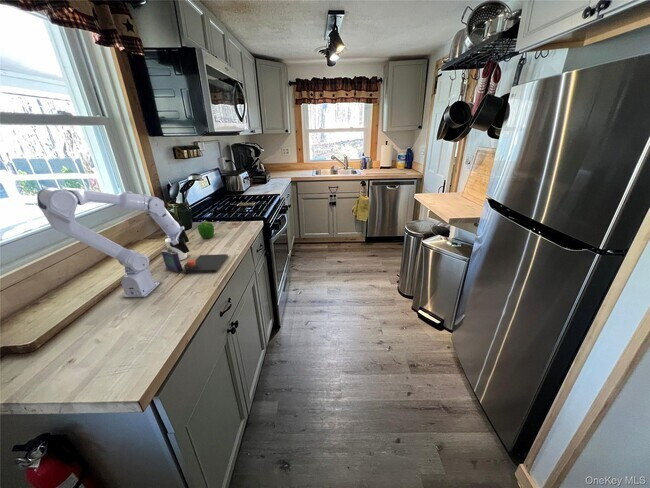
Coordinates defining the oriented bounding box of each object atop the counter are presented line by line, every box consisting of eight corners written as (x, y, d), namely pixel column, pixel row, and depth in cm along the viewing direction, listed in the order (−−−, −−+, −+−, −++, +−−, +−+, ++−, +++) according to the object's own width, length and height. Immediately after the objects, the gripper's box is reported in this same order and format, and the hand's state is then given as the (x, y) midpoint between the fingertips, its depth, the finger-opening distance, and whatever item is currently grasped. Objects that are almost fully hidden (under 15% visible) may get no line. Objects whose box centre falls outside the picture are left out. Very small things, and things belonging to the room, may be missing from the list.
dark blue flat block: (165, 269, 114) (158, 247, 110) (171, 266, 116) (164, 244, 112) (179, 273, 110) (172, 250, 106) (185, 270, 113) (179, 247, 109)
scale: (215, 272, 110) (214, 266, 108) (183, 273, 110) (181, 267, 109) (228, 256, 124) (226, 251, 123) (199, 257, 124) (197, 252, 123)
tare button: (193, 266, 110) (192, 262, 109) (186, 266, 110) (185, 263, 109) (196, 263, 113) (195, 259, 112) (190, 263, 113) (189, 259, 112)
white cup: (181, 262, 120) (175, 242, 116) (166, 261, 122) (160, 241, 118) (192, 254, 127) (187, 236, 123) (178, 253, 129) (173, 235, 125)
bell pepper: (198, 237, 149) (194, 220, 145) (213, 233, 154) (209, 217, 150) (202, 241, 143) (198, 224, 139) (217, 237, 147) (213, 221, 143)
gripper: (176, 227, 98) (196, 252, 107) (177, 210, 108) (195, 234, 117) (157, 235, 97) (179, 260, 106) (160, 217, 107) (180, 240, 116)
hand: (186, 246), depth 111 cm, fingers open, 7 cm apart
